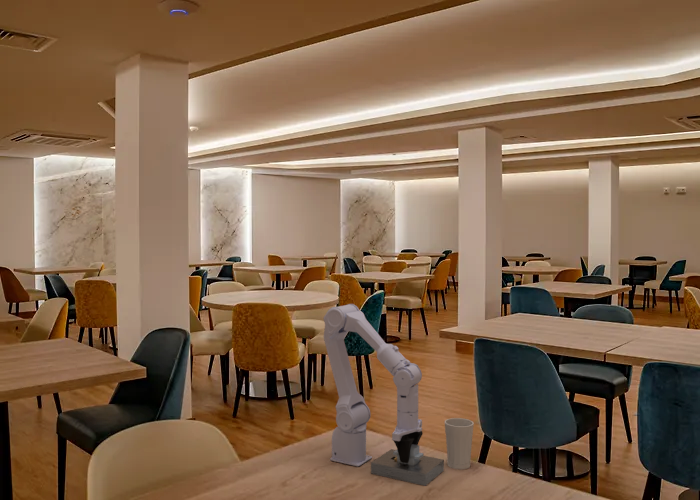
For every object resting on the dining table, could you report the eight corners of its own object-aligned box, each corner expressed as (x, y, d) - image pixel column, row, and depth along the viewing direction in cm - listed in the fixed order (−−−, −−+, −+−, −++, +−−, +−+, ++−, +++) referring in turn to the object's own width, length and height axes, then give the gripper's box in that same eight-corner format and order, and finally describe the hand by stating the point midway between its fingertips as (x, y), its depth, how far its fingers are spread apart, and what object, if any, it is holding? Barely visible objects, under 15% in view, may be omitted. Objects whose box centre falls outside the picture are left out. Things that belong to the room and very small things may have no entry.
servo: (392, 465, 170) (392, 445, 170) (398, 461, 173) (398, 441, 173) (418, 470, 166) (418, 450, 166) (423, 466, 169) (423, 446, 169)
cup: (473, 471, 170) (473, 427, 169) (443, 469, 171) (443, 425, 171) (473, 460, 178) (473, 418, 177) (445, 458, 179) (445, 417, 179)
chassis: (370, 473, 168) (370, 462, 168) (391, 459, 179) (391, 449, 179) (425, 485, 160) (425, 474, 160) (443, 470, 170) (443, 459, 170)
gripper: (409, 419, 161) (409, 471, 161) (432, 405, 173) (432, 454, 173) (385, 415, 164) (385, 466, 165) (409, 402, 177) (409, 449, 177)
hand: (407, 459), depth 169 cm, fingers closed on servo, 3 cm apart
